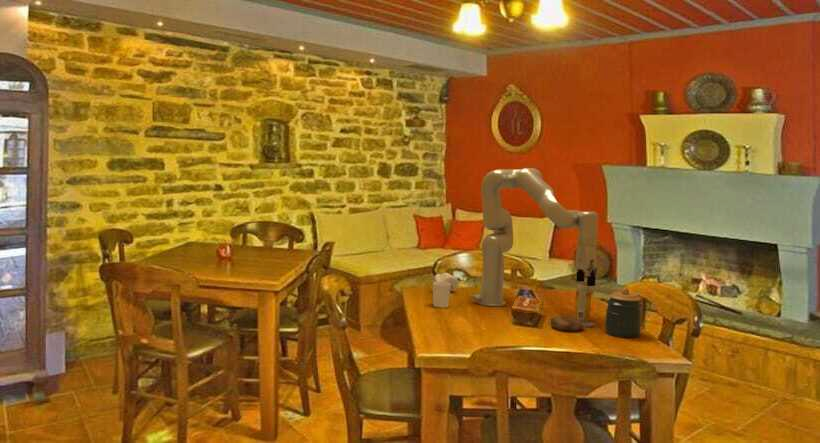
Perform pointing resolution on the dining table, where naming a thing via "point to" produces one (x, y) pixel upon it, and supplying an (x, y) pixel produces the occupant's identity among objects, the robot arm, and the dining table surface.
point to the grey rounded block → (447, 280)
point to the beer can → (583, 301)
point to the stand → (566, 323)
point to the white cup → (441, 294)
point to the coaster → (588, 324)
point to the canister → (623, 314)
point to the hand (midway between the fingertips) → (585, 283)
